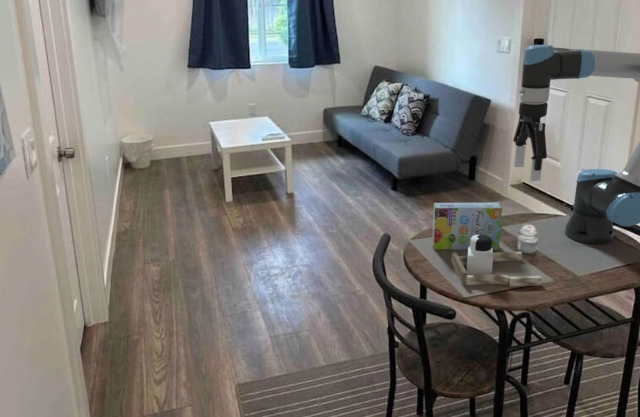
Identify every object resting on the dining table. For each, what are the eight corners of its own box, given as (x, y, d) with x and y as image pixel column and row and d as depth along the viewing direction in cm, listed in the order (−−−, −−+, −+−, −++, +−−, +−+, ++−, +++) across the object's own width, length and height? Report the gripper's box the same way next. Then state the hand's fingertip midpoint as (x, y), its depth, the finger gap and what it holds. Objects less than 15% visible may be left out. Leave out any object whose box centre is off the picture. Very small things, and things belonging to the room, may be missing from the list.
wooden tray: (520, 258, 179) (521, 247, 178) (540, 285, 163) (542, 273, 161) (450, 261, 179) (450, 249, 178) (463, 288, 163) (464, 275, 162)
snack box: (495, 243, 190) (499, 201, 185) (498, 251, 185) (502, 208, 180) (431, 243, 193) (433, 201, 187) (433, 250, 187) (434, 207, 182)
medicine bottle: (490, 269, 173) (493, 233, 169) (491, 279, 167) (494, 242, 163) (466, 267, 175) (469, 231, 171) (466, 277, 169) (468, 241, 164)
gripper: (506, 94, 172) (501, 161, 180) (536, 111, 149) (529, 187, 157) (531, 93, 172) (524, 161, 180) (565, 109, 149) (556, 186, 157)
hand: (526, 173), depth 168 cm, fingers open, 13 cm apart
